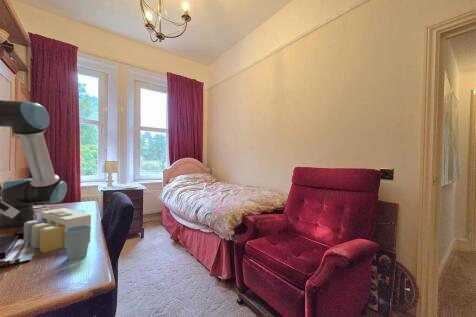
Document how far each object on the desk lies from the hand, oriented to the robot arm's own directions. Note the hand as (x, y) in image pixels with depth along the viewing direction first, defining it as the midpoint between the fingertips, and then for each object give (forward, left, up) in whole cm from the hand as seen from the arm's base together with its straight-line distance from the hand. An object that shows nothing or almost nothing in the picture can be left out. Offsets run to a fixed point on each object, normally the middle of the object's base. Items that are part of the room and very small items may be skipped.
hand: (13, 213), depth 75 cm
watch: (-31, -12, -16) cm, 37 cm away
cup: (-2, +20, -16) cm, 26 cm away
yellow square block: (-10, +7, -16) cm, 20 cm away
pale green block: (-14, +1, -16) cm, 21 cm away
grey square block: (-19, -5, -16) cm, 25 cm away
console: (-19, +4, -16) cm, 25 cm away
